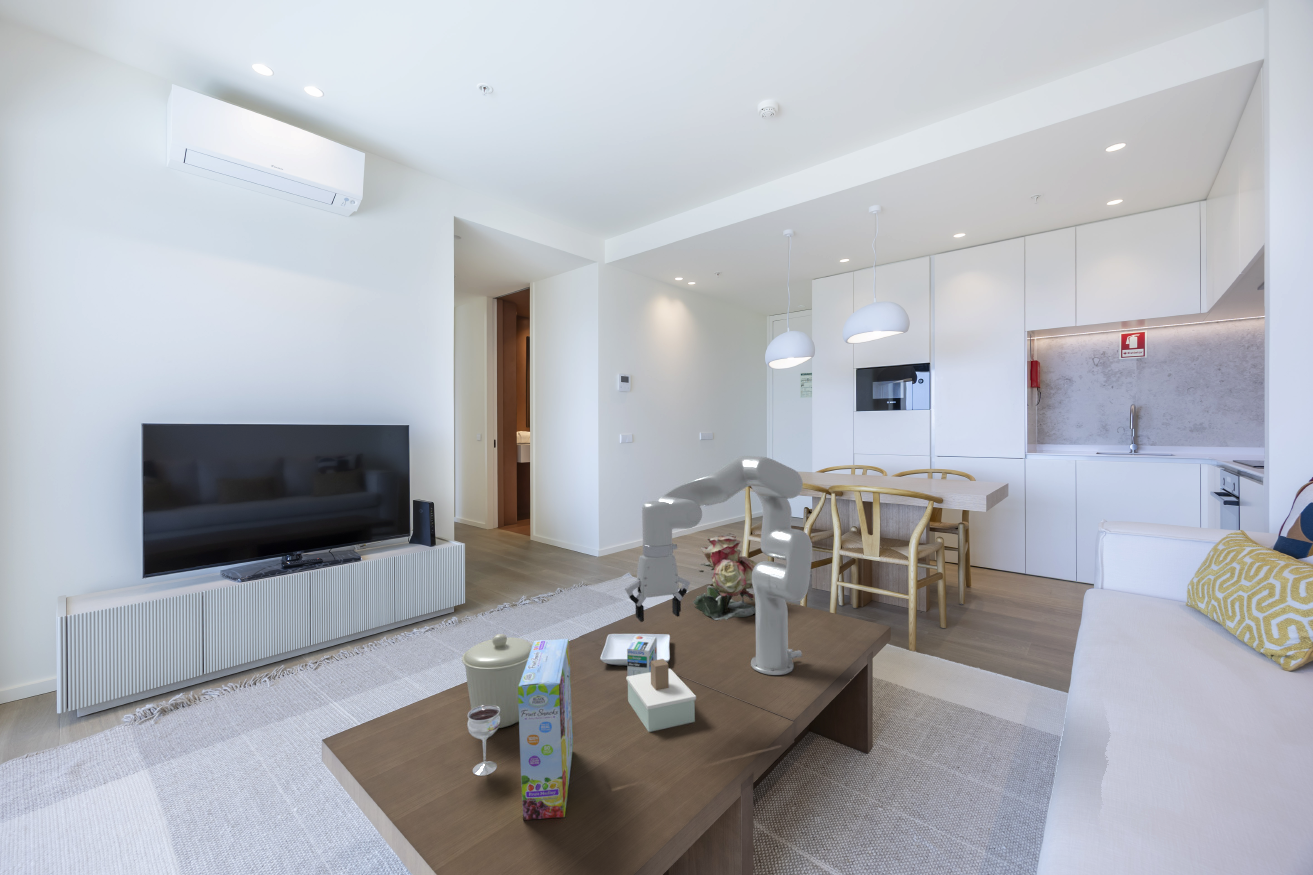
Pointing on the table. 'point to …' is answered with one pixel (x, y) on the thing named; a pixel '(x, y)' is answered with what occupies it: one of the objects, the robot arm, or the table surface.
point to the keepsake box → (662, 713)
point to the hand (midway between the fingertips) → (658, 617)
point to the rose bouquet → (726, 579)
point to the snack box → (545, 730)
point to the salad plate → (620, 642)
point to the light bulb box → (641, 655)
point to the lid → (660, 686)
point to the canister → (497, 674)
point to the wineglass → (484, 732)
